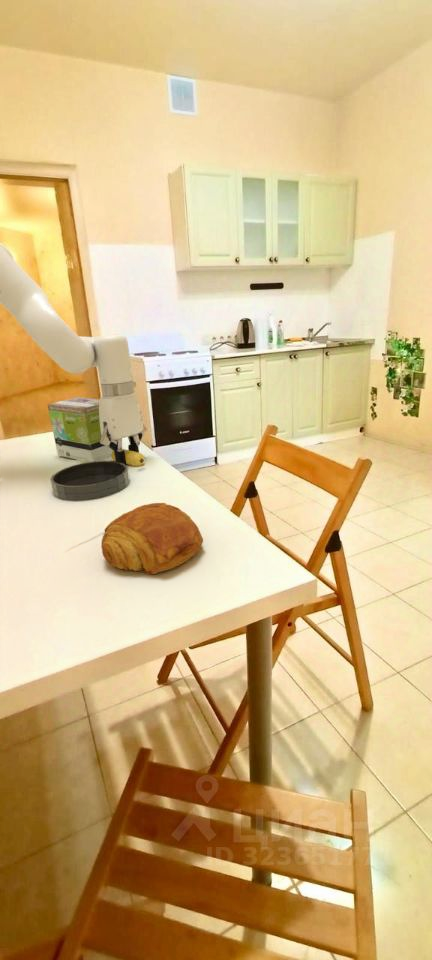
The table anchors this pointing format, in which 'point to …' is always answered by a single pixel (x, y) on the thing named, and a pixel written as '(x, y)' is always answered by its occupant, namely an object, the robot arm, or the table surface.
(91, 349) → the robot arm
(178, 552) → the croissant
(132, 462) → the banana
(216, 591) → the table surface
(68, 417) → the tea box
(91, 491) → the shallow dish
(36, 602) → the table surface
